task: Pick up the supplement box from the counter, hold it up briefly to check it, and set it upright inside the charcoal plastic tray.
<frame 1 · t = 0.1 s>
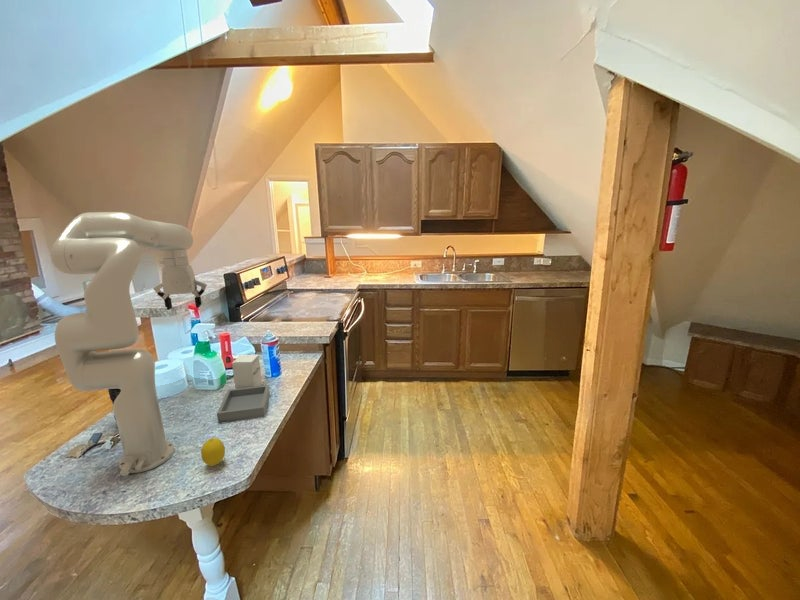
hand: (184, 307, 134), 31 cm above the breakfast bar, tool pointing down, fingers open, 9 cm apart
storage jar: (135, 421, 117), on the breakfast bar
tray: (246, 407, 124), on the breakfast bar
lemon: (215, 465, 96), on the breakfast bar
supplement box: (249, 389, 137), on the breakfast bar
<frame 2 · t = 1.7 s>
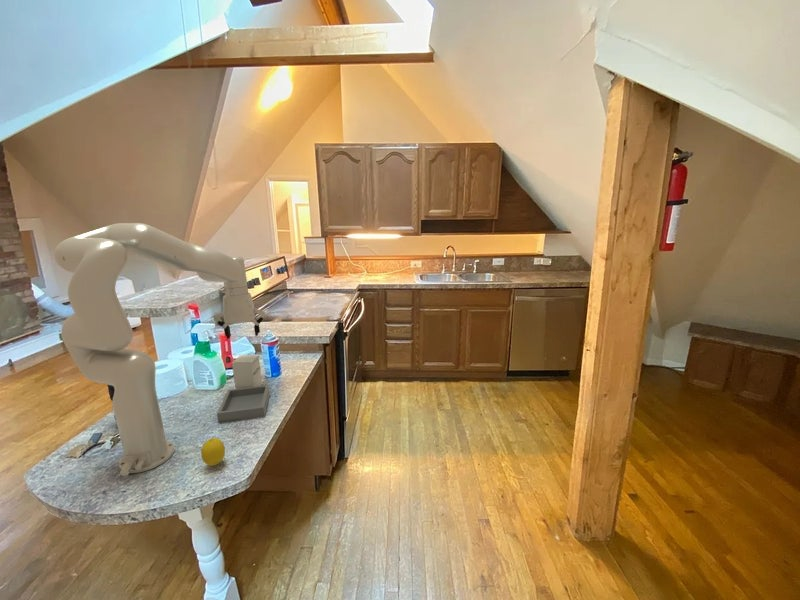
hand: (243, 336, 132), 21 cm above the breakfast bar, tool pointing down, fingers open, 9 cm apart
nothing on the breakfast bar moved.
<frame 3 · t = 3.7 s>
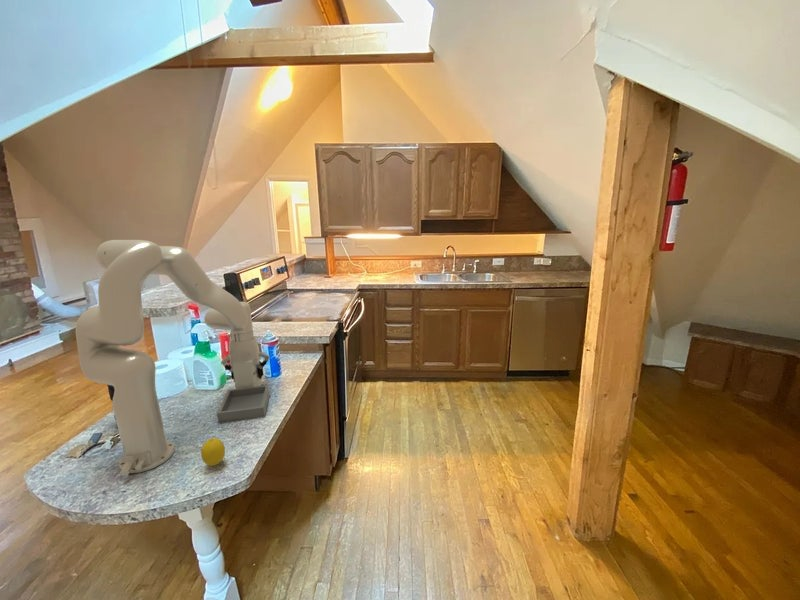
hand: (248, 378, 136), 4 cm above the breakfast bar, tool pointing down, fingers closed on supplement box, 8 cm apart
supplement box: (249, 389, 137), on the breakfast bar, touching gripper
everything else where it was.
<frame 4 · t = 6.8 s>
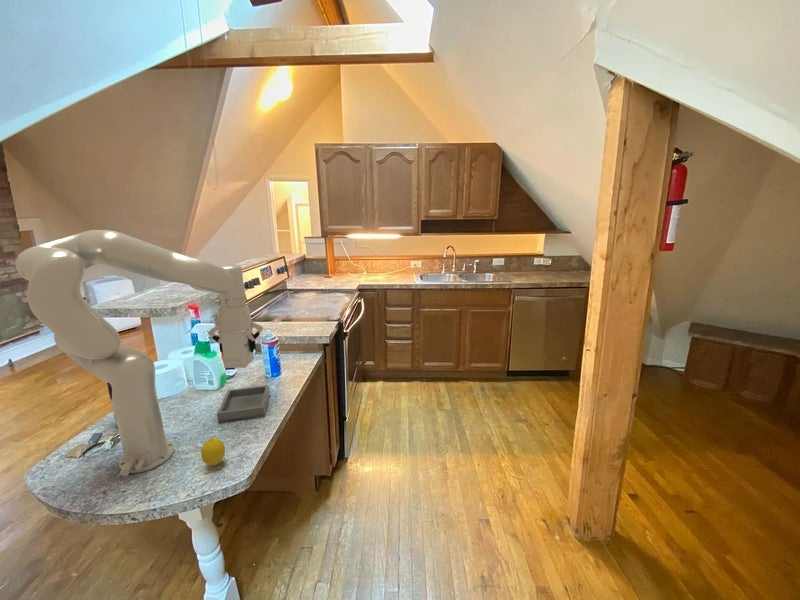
hand: (238, 352, 121), 19 cm above the breakfast bar, tool pointing down, fingers closed on supplement box, 8 cm apart
supplement box: (239, 364, 122), point 15 cm above the breakfast bar, touching gripper
everything else where it was.
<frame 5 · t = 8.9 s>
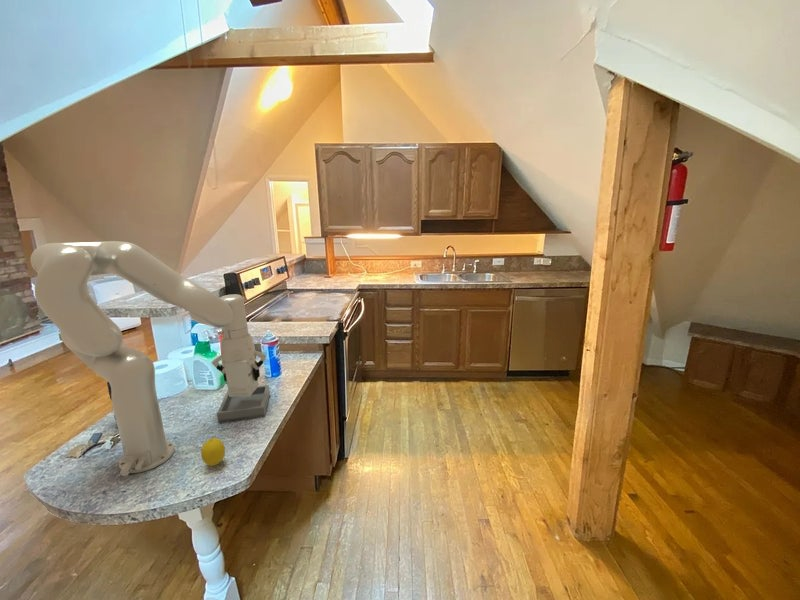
hand: (242, 380, 121), 10 cm above the breakfast bar, tool pointing down, fingers closed on supplement box, 8 cm apart
supplement box: (244, 392, 123), point 6 cm above the breakfast bar, touching gripper
everything else where it was.
when the fingers open (6 cm above the breakfast bar, at t = 10.4 s): supplement box stays where it is, resting on tray.
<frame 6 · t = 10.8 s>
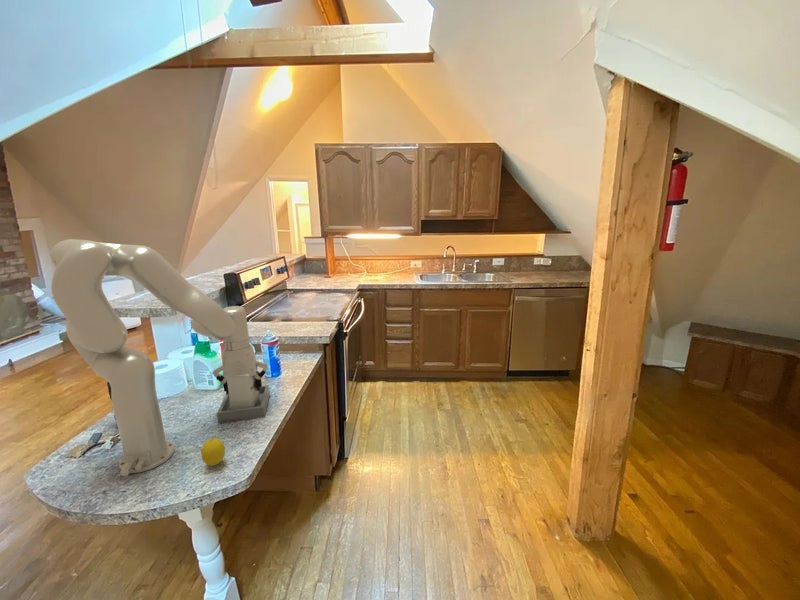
hand: (243, 390, 122), 6 cm above the breakfast bar, tool pointing down, fingers open, 9 cm apart
supplement box: (246, 405, 123), point 1 cm above the breakfast bar, touching tray
everything else where it was.
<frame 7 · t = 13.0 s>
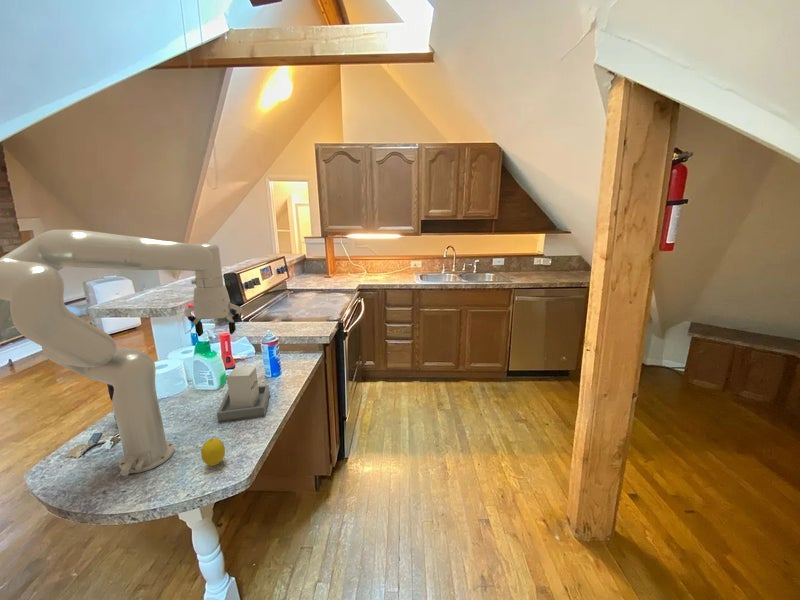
hand: (216, 334, 118), 27 cm above the breakfast bar, tool pointing down, fingers open, 9 cm apart
nothing on the breakfast bar moved.
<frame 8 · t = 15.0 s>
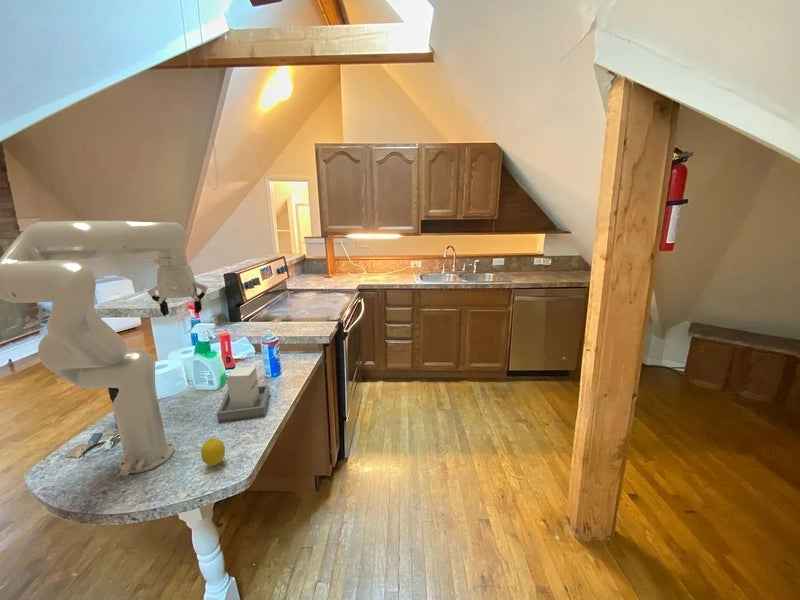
hand: (182, 313, 118), 33 cm above the breakfast bar, tool pointing down, fingers open, 9 cm apart
nothing on the breakfast bar moved.
at the end: supplement box inside the target area on the tray (0.2 cm from its centre), point 0.8 cm above the tray's base; supplement box tilted 0°; the gripper is holding nothing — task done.
